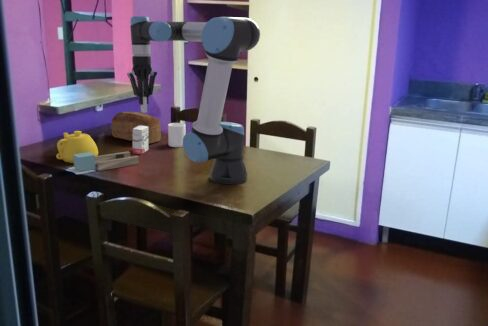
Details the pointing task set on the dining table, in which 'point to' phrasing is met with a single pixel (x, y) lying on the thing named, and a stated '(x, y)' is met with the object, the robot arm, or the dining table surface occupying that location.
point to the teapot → (75, 146)
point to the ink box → (140, 139)
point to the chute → (115, 160)
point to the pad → (80, 171)
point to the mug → (176, 134)
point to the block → (84, 161)
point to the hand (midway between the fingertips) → (144, 112)
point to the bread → (135, 125)
